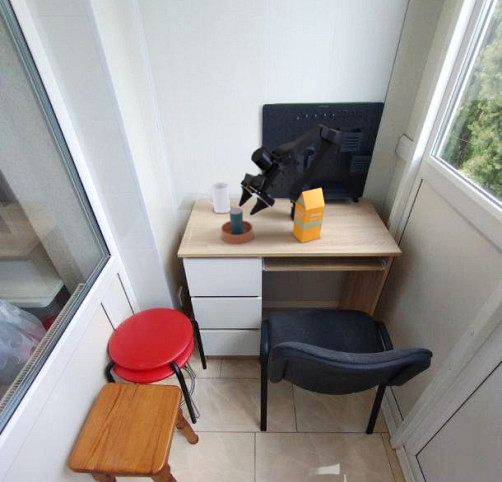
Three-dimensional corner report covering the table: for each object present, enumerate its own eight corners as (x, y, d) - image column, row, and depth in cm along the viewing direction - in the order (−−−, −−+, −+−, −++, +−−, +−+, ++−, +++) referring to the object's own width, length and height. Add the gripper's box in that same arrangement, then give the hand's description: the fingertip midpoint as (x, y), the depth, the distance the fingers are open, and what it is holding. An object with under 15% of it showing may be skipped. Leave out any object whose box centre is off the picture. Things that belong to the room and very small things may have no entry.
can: (243, 232, 124) (242, 207, 116) (243, 238, 120) (242, 213, 112) (231, 232, 124) (229, 207, 116) (231, 238, 120) (229, 213, 112)
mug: (205, 213, 139) (202, 188, 130) (209, 205, 145) (206, 181, 136) (229, 213, 138) (227, 189, 129) (231, 205, 144) (230, 182, 135)
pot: (252, 228, 127) (252, 219, 124) (252, 244, 117) (252, 235, 114) (223, 229, 127) (222, 220, 124) (221, 245, 118) (220, 235, 114)
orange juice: (292, 234, 123) (296, 188, 109) (309, 229, 126) (316, 184, 112) (301, 242, 118) (307, 195, 104) (319, 237, 120) (327, 191, 106)
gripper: (243, 158, 112) (221, 191, 116) (269, 172, 100) (243, 209, 104) (260, 174, 120) (238, 205, 124) (285, 189, 109) (261, 223, 112)
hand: (244, 210), depth 116 cm, fingers open, 9 cm apart
